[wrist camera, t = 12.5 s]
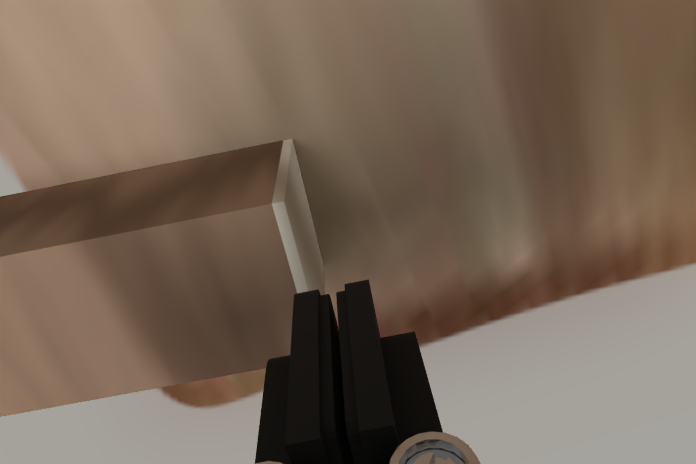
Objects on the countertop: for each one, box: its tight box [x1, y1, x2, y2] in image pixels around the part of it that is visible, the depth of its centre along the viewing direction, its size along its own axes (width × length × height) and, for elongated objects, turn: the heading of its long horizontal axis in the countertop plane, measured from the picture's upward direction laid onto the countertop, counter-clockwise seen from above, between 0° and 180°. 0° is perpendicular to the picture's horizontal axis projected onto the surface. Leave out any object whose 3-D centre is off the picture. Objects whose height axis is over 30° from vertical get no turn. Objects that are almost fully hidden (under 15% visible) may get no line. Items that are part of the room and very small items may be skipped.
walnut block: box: [0, 139, 325, 417], centre depth 16 cm, size 5×5×10 cm
